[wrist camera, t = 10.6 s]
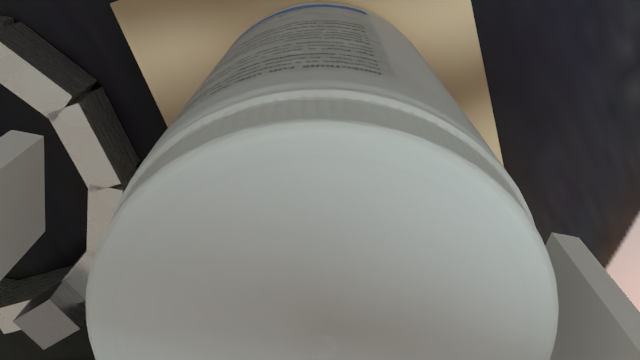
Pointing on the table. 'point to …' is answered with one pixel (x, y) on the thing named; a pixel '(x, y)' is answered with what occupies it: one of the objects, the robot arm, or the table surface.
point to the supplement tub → (321, 215)
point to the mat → (256, 3)
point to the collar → (89, 158)
